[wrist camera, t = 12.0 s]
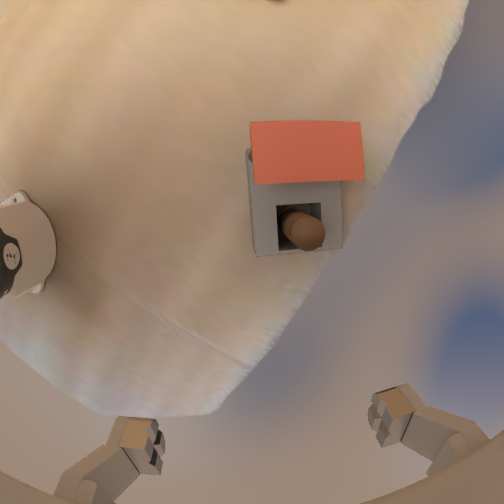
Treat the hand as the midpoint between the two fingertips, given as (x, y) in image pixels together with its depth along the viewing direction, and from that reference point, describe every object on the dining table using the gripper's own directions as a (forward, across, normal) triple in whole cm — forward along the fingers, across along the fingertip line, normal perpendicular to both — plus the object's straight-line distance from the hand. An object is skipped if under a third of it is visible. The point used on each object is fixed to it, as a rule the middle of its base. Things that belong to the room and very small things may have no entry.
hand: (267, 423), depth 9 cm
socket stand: (+34, -8, -5) cm, 35 cm away
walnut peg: (+34, -8, -1) cm, 35 cm away
